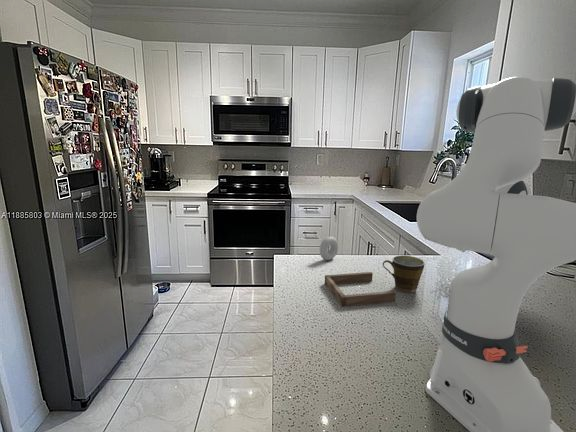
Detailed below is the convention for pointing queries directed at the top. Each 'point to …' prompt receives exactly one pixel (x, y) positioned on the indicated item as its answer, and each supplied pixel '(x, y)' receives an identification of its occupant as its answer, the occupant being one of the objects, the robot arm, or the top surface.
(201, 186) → the top surface
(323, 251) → the donut
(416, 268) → the ceramic cup
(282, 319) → the top surface
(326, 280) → the wooden u-shaped frame
